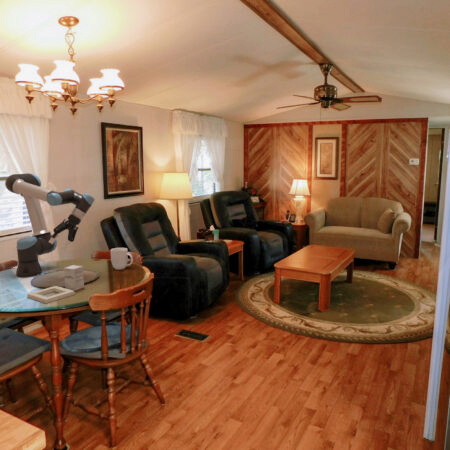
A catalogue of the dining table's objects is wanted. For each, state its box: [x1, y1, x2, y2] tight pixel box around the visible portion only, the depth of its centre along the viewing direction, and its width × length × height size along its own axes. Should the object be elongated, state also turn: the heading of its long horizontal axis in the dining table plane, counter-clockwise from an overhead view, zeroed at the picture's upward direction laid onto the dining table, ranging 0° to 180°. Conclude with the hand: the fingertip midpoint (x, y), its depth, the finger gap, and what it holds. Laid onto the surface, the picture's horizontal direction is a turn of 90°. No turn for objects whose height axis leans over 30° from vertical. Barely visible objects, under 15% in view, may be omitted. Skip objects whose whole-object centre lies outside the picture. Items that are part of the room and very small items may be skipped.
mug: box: [110, 247, 134, 271], centre depth 281 cm, size 15×11×13 cm
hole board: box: [26, 285, 76, 304], centre depth 227 cm, size 17×17×2 cm
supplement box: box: [63, 264, 85, 292], centre depth 239 cm, size 7×7×13 cm
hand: (56, 246), depth 254 cm, fingers open, 13 cm apart
